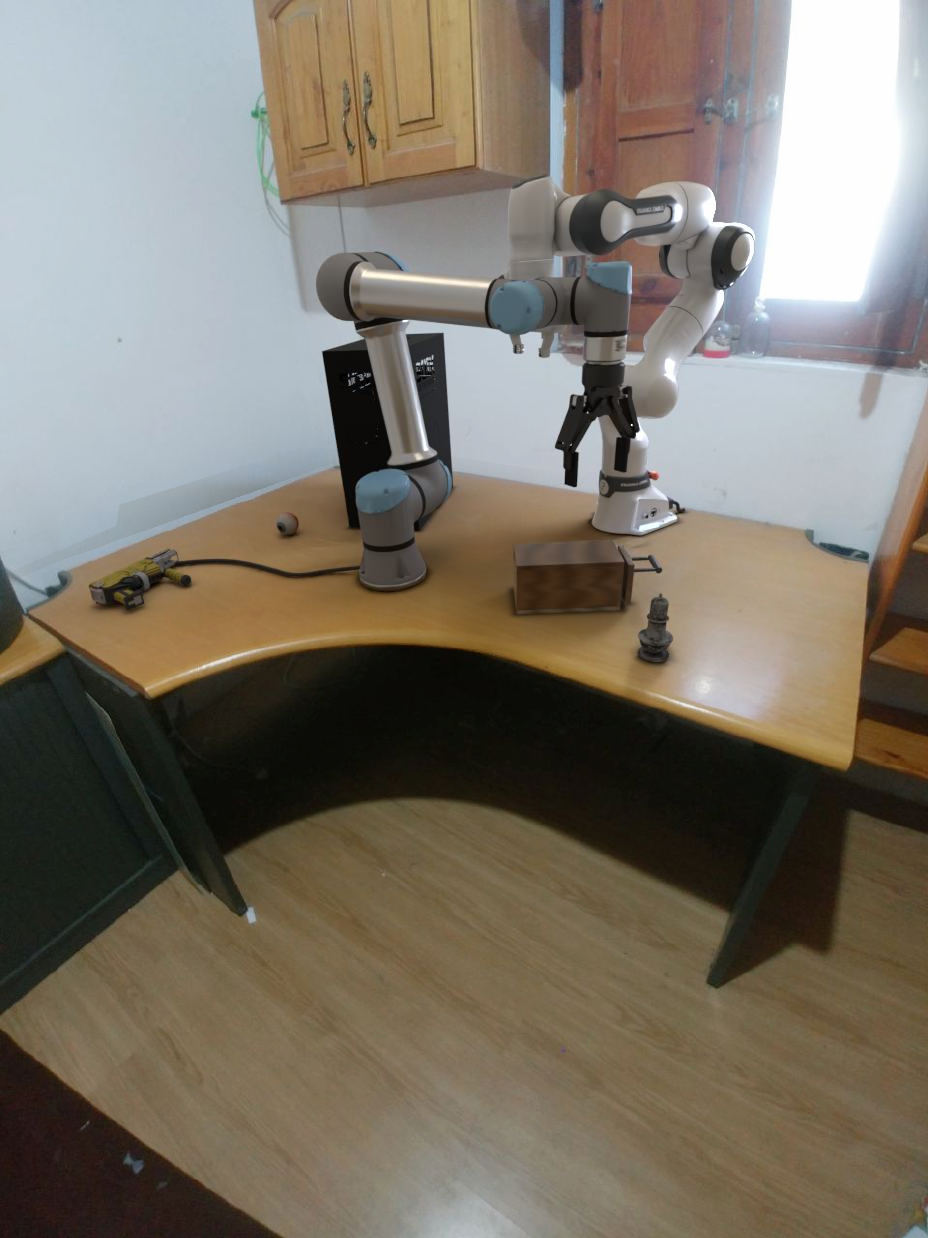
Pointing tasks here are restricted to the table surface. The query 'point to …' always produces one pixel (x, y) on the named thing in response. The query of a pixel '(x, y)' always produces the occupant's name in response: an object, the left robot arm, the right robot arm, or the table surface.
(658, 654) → the stone chess piece
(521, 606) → the brown wooden box
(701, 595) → the table surface
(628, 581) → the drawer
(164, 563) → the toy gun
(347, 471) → the black piece
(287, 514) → the eyeball
